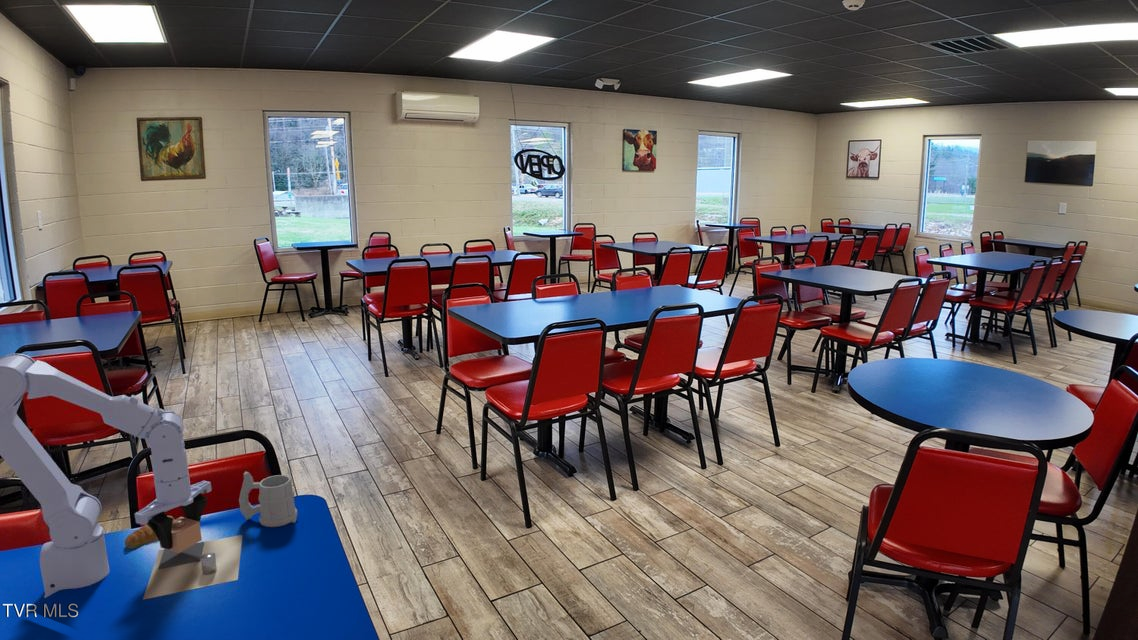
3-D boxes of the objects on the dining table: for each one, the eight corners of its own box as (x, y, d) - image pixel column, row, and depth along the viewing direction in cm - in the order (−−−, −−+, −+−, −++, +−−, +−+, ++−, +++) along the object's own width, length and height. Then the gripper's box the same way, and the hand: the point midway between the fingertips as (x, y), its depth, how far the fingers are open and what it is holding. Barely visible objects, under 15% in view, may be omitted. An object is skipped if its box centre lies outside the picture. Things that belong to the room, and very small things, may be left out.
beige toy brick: (178, 553, 126) (175, 530, 125) (160, 547, 128) (157, 525, 127) (201, 540, 130) (198, 517, 129) (183, 534, 132) (180, 513, 131)
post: (201, 576, 123) (199, 560, 122) (203, 569, 125) (201, 554, 125) (216, 573, 124) (214, 557, 123) (217, 566, 126) (215, 551, 125)
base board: (143, 604, 117) (142, 599, 116) (159, 554, 132) (159, 550, 132) (238, 584, 122) (237, 579, 122) (242, 539, 138) (242, 534, 137)
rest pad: (158, 569, 125) (158, 567, 125) (164, 550, 132) (164, 549, 131) (200, 561, 128) (200, 559, 128) (204, 543, 134) (204, 541, 134)
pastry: (133, 555, 132) (131, 538, 131) (119, 544, 136) (117, 528, 135) (183, 535, 139) (180, 519, 138) (168, 526, 143) (166, 509, 142)
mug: (291, 531, 141) (286, 479, 138) (234, 533, 140) (228, 480, 137) (303, 513, 148) (298, 463, 146) (248, 515, 147) (243, 465, 145)
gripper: (150, 496, 118) (159, 564, 121) (219, 464, 131) (226, 526, 134) (123, 489, 121) (133, 556, 124) (193, 458, 134) (201, 519, 137)
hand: (180, 540), depth 129 cm, fingers closed on beige toy brick, 5 cm apart
